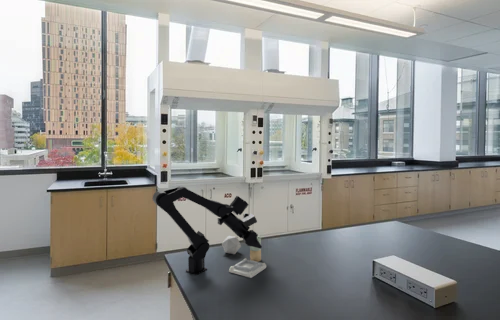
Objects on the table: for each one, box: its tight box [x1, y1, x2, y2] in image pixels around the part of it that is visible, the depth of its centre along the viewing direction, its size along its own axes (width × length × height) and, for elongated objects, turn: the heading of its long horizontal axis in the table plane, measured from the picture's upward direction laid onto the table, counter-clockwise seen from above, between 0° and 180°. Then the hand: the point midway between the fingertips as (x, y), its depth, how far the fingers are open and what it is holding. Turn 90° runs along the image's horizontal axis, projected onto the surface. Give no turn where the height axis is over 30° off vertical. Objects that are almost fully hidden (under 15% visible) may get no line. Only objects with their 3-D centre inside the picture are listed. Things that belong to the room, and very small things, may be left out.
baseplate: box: [228, 258, 267, 279], centre depth 135 cm, size 12×11×2 cm
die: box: [221, 235, 242, 255], centre depth 155 cm, size 8×9×10 cm
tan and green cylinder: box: [249, 235, 262, 262], centre depth 145 cm, size 5×5×11 cm
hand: (257, 244), depth 146 cm, fingers open, 9 cm apart
